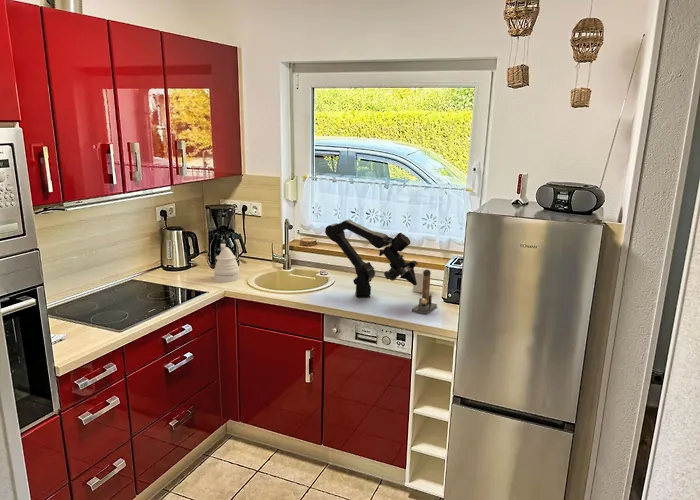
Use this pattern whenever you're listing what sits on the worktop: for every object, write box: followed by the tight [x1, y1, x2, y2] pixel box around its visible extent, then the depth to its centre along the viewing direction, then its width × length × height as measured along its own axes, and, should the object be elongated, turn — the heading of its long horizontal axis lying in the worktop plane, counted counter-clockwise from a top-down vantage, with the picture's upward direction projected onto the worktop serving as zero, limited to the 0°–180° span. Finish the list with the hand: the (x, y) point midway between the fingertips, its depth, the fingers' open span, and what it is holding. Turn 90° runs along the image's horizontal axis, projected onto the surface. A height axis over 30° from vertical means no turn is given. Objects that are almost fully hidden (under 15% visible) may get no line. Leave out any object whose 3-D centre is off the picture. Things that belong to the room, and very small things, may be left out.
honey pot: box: [213, 243, 241, 283], centre depth 269 cm, size 13×13×18 cm
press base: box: [411, 294, 438, 315], centre depth 231 cm, size 7×12×6 cm, turn 150°
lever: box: [421, 268, 432, 303], centre depth 231 cm, size 3×4×15 cm
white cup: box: [412, 268, 426, 294], centre depth 256 cm, size 8×8×10 cm
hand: (416, 285), depth 234 cm, fingers closed
